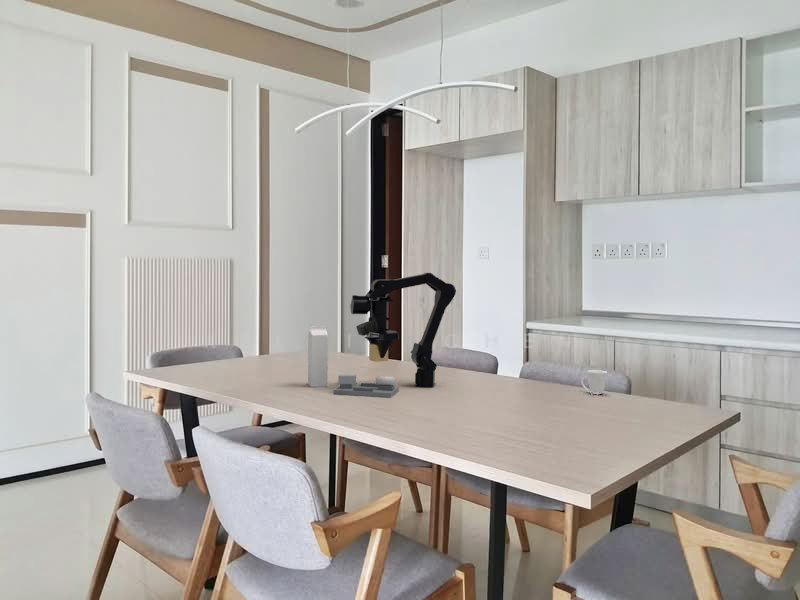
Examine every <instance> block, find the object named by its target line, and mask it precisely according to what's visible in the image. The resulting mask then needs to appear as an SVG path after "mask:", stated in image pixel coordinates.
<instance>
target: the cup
mask: <svg viewBox="0 0 800 600" xmlns="http://www.w3.org/2000/svg"><path fill="white" fill-rule="evenodd" d="M608 373H609V372H608V371H605V370H600V369H591V370H590V369H589V370H587V371H586V372H584V373H582V375H581V379H580V381H581V382H580V384H581V386H582V387H583V389H584V390H585V391H586V392H588V393H589V392H601V393H602V394H603V395H604V393H603V392H604V391H605V388H606V384H607V377H608ZM586 375H587V380H588V386H589V389H588V388H587V386H585V384H584V377H585V376H586ZM592 394H594V393H592ZM592 394H591V395H592Z"/></svg>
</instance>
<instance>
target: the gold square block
mask: <svg viewBox="0 0 800 600" xmlns="http://www.w3.org/2000/svg"><path fill="white" fill-rule="evenodd" d="M368 347H369V354H368V355H369V356H368V357H369V359H368V360H369V361H371V362H376V363H377V362H388V361H389V349H388V350H387V352H386V354H385V356H384V358H381V356H380V344H379V343H373V344H370V343H369V345H368Z"/></svg>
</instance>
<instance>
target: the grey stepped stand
mask: <svg viewBox="0 0 800 600" xmlns="http://www.w3.org/2000/svg"><path fill="white" fill-rule="evenodd" d="M337 375H338V376H337V377H338V379H337V381H338V382H337V383H338V385H339V386H338V387H336V388H335V389H333V395H340V396H342V395H343V396H356V397H373V398H388V399H389V398H390V399H391V398H393V396H395V395H396V394H398V393H399V391H400V387H398V386H396V385H395V381H396V380H395V378H396V377H394V376H387V375H386V376H383V375H382V376H381V375H376V376H375V382H374V383H373V382H360V384H357V374H337Z"/></svg>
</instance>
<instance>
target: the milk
mask: <svg viewBox="0 0 800 600" xmlns="http://www.w3.org/2000/svg"><path fill="white" fill-rule="evenodd" d="M307 336H308V343H307V344H308V347H307V348H308V349H307V350H308V351H307V352H308V353H307V355H308V356H307V385H308V386H309V387H311V388H322V387H323V388H324V387H325V388H327V387H328V372H329V370H328V369H329V367H328V365H329V364H328V363H329V360H328V359H329V356H328V355H329V334H328V331H327V325H310V327H309V331H308V335H307Z"/></svg>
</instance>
